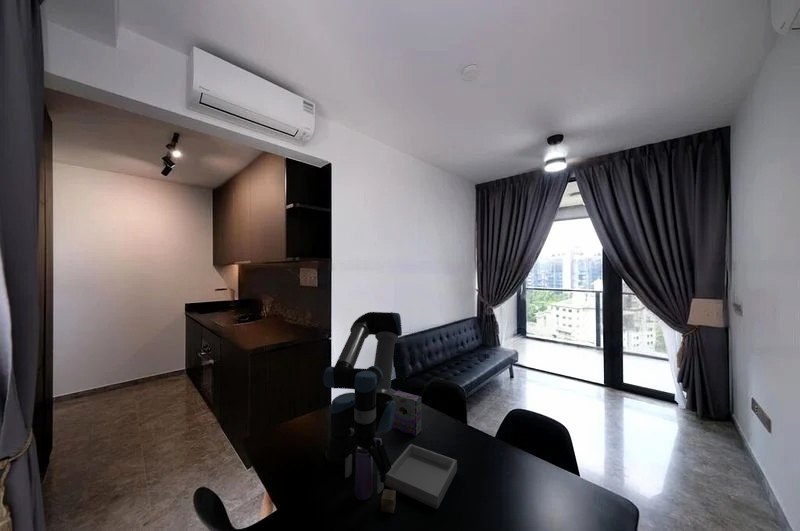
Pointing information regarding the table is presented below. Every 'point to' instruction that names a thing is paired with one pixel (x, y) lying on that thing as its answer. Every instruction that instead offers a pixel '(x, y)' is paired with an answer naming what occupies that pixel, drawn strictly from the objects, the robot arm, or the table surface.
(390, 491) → the oak block
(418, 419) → the candy box
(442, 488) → the bin
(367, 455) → the beverage can
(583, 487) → the table surface
